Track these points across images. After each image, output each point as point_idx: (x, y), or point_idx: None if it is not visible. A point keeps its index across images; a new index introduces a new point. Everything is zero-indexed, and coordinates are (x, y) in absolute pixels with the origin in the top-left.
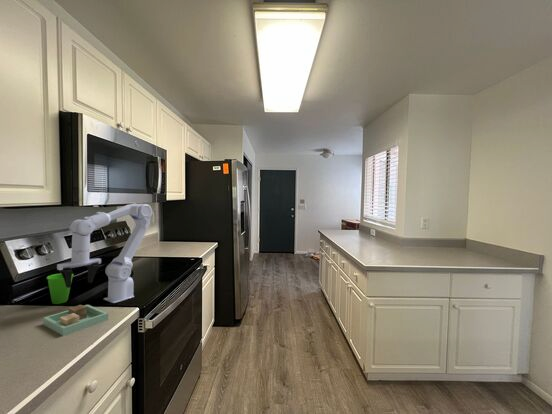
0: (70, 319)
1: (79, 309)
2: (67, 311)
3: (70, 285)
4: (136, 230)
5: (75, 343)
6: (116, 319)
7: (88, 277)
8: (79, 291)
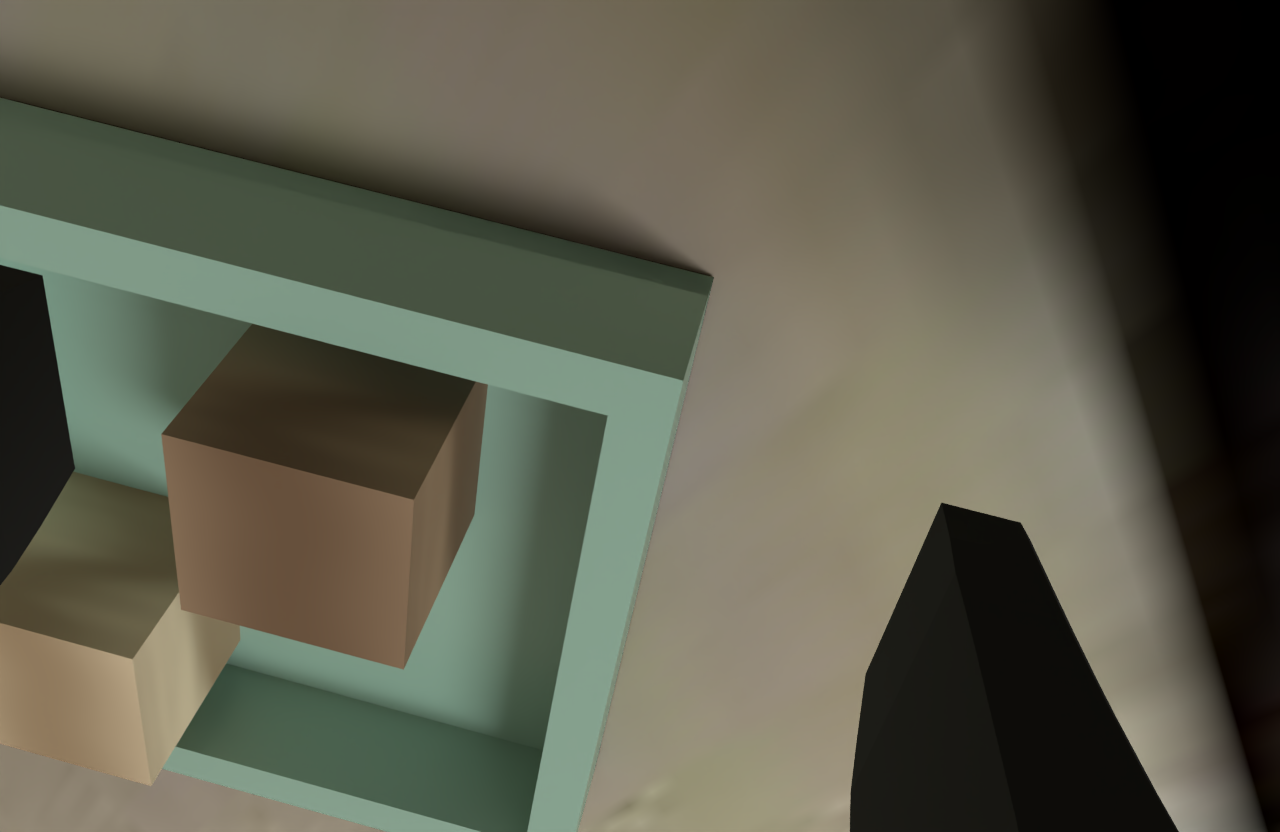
0: (36, 739)
1: (272, 629)
2: (218, 314)
3: (8, 544)
4: None
5: (91, 779)
6: (691, 816)
7: (945, 715)
8: None
